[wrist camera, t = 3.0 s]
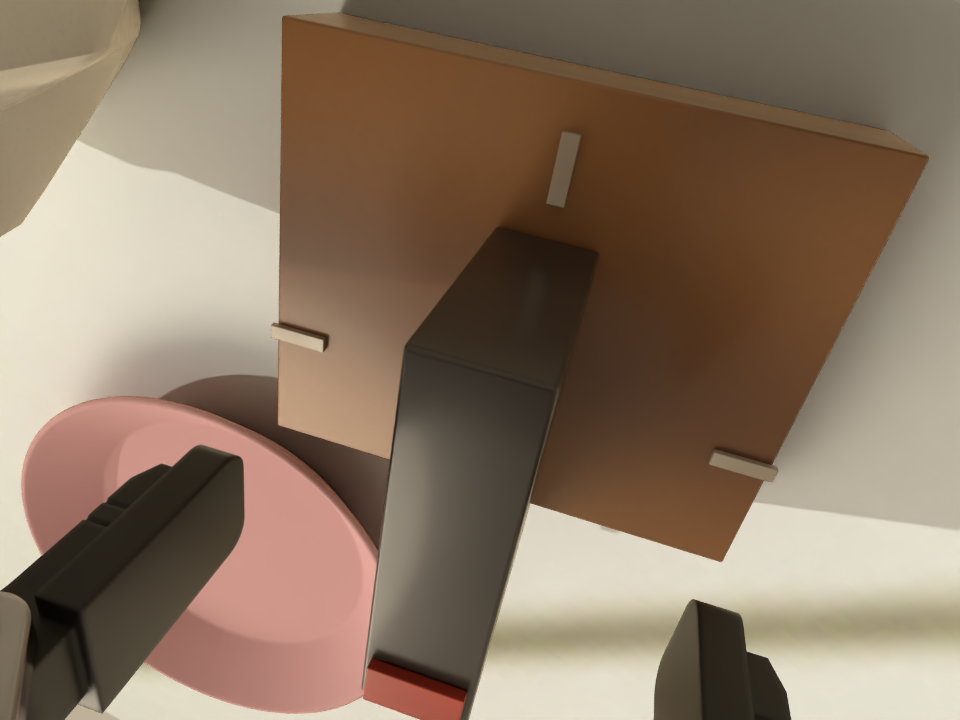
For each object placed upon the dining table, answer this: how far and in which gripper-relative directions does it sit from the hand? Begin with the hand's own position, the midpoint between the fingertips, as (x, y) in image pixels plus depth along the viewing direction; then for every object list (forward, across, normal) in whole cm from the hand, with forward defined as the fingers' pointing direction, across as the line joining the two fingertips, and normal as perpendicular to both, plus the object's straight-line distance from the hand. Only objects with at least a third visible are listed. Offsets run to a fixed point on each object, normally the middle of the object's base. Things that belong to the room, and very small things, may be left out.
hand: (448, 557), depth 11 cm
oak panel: (+7, 0, -1) cm, 7 cm away
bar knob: (+5, 0, 0) cm, 5 cm away
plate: (+8, +9, +11) cm, 16 cm away
